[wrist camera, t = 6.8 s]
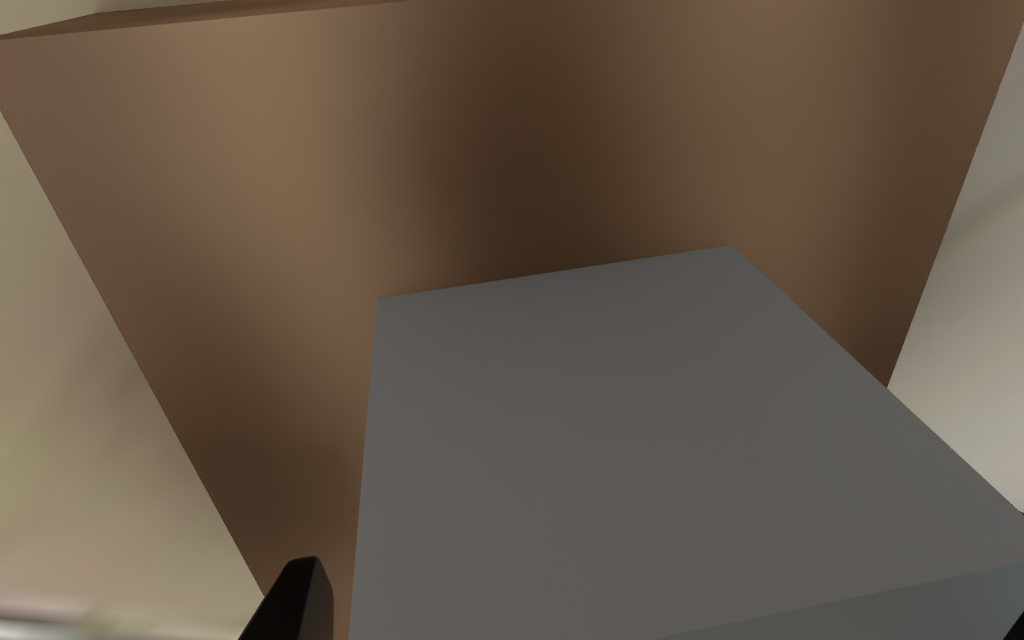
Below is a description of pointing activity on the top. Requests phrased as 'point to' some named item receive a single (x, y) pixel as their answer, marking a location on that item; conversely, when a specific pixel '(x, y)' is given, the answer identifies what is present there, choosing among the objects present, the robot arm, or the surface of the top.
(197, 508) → the top surface
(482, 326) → the slate cube
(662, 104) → the walnut slab
